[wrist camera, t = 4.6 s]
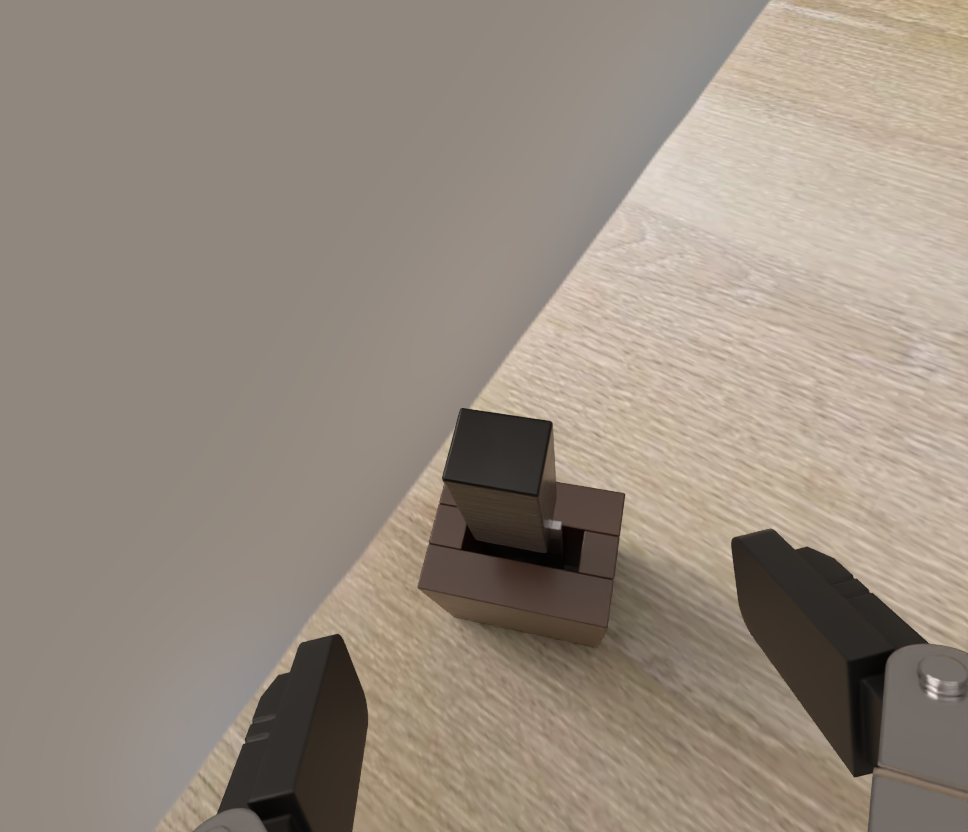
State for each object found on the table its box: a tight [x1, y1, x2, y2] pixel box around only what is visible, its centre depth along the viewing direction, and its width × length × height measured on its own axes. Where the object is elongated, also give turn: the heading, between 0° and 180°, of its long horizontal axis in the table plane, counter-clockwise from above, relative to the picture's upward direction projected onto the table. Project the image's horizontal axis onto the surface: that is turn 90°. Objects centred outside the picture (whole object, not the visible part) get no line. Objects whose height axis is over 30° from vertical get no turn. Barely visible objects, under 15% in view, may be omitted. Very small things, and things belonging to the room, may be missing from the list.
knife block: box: [418, 482, 625, 648], centre depth 27 cm, size 5×7×8 cm
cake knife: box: [442, 408, 564, 570], centre depth 22 cm, size 2×3×16 cm, turn 78°
